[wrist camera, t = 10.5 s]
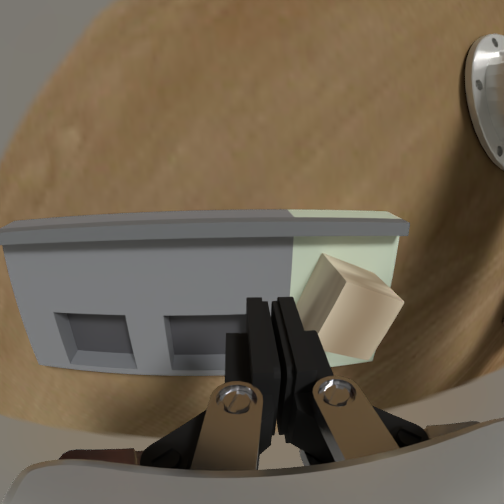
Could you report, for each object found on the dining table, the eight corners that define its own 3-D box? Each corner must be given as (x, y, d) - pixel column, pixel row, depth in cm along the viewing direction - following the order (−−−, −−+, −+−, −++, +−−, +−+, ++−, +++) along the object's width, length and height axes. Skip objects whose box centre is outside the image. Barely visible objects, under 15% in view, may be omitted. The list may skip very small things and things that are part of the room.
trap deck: (386, 211, 20) (410, 223, 17) (363, 346, 24) (377, 368, 21) (14, 220, 17) (-9, 233, 15) (48, 350, 21) (34, 372, 18)
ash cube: (374, 272, 19) (404, 302, 15) (345, 324, 20) (368, 360, 16) (321, 252, 18) (346, 281, 14) (293, 309, 19) (309, 347, 16)
